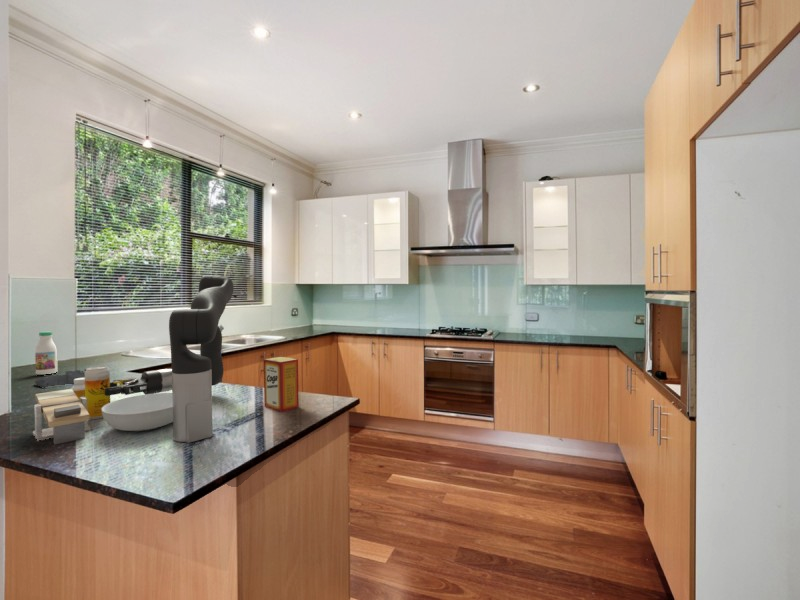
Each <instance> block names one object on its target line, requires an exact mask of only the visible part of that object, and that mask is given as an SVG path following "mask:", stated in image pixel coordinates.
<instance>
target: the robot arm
mask: <svg viewBox="0 0 800 600" xmlns="http://www.w3.org/2000/svg"><path fill="white" fill-rule="evenodd" d="M233 294H234V282H233V280H232V279H231V277H227V276H219V275H210V274H209V275H208V274H206V275H202V276H201V277H200V280H199V284H198V293H197V294H196V295H195V296H194V298H193V299H192V301H191V304H190V309H187V308H186V309H175V310H173V311H172V312H171V313H170V316H169V318H168V319H169V321H168V333H169V343H170V344H169V345H170V362H171V368H163V369H156V370H148V371H143V372H142V374H141V376H140V378H136V377H129V378H122V379H114V380H112V381H110V388H106V389H105V395H106V396H109V395H110V396H115V395H125V396H128V395H133V394H138V393H143V395H145V394H155V393H167V392H170V391H171V393H172V404H173V422H172V436H173V437H172V438H173V440H174V442H180V443H187V444H190V443H193V442H196V441H200V440H204V439H208V438H211V437H213V436H214V435H213V434H214V433H213V427H214V426H213V387H214V386H217V385H218V384H219V383H220V382H221V381H222V379H223V376H224V364H223V363H224V362H223V357H222V346H223V345H222V344H223V334H222V330H221V328H220V327H219V322H220V320H221V317H222V315H223V313H224V312H225V309H226V306H227V304H228V303H229V302H230V301H231V299H232V297H233ZM190 345H200V346H199V347H200V350H199V351H200V352H199V353H200V354H198V353H195V352H193V351H191V350H190V349H189V348H188V346H190ZM212 386H213V387H212Z"/></svg>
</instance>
